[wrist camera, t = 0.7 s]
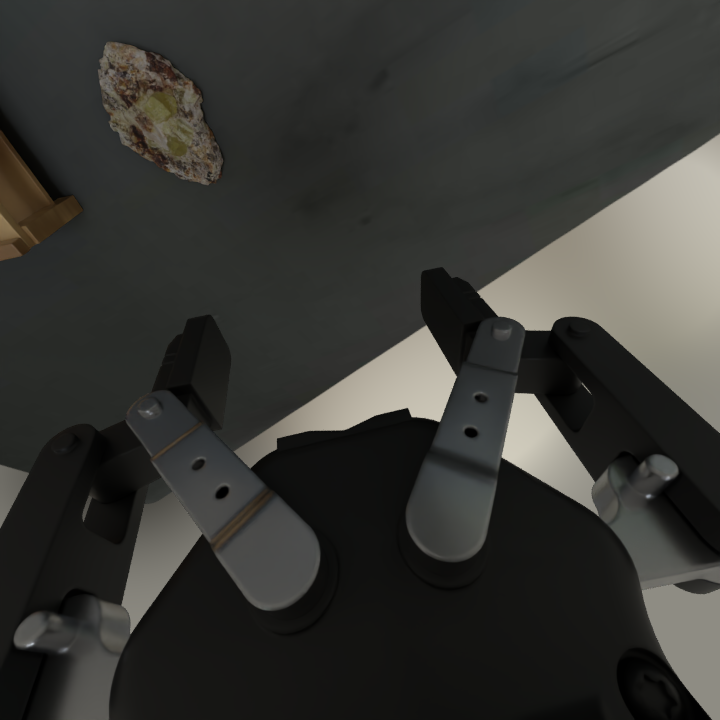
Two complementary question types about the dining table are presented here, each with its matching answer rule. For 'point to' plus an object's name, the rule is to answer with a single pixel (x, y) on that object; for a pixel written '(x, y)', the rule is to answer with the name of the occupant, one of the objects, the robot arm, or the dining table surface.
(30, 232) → the rack
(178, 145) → the mineral rock
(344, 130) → the dining table surface
